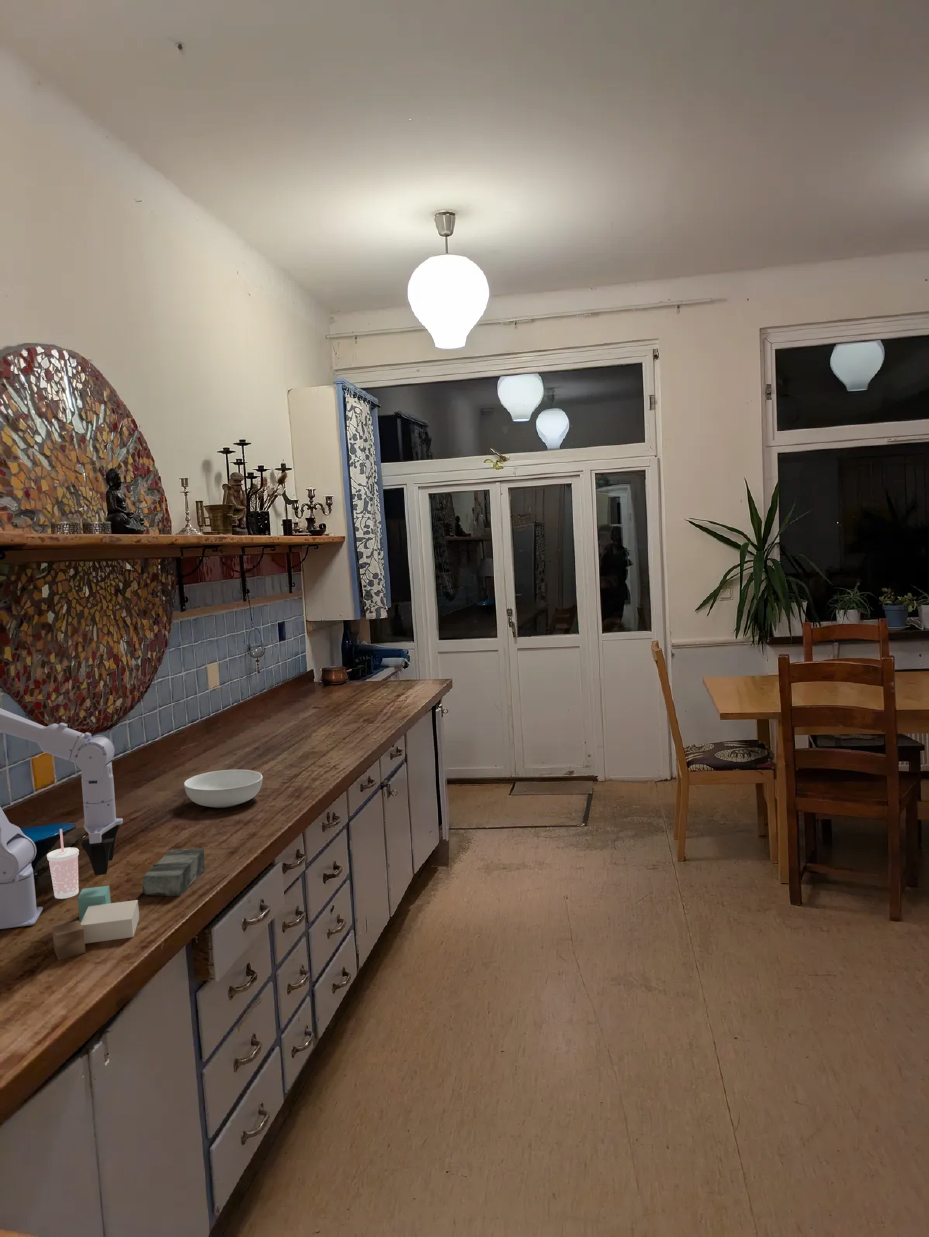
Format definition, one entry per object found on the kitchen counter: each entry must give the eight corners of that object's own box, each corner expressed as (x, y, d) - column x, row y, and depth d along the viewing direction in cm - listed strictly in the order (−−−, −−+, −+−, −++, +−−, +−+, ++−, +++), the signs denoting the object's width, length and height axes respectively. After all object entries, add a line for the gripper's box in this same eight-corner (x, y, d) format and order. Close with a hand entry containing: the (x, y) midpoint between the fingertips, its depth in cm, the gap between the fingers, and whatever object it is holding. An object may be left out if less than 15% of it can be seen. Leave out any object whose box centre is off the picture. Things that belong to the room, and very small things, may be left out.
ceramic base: (81, 943, 166) (79, 925, 166) (90, 923, 175) (88, 906, 174) (133, 937, 168) (131, 918, 168) (139, 917, 177) (137, 899, 176)
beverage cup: (46, 895, 190) (39, 829, 189) (75, 886, 194) (69, 822, 193) (57, 902, 186) (51, 836, 184) (87, 893, 190) (81, 828, 189)
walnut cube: (58, 960, 160) (56, 935, 160) (54, 950, 164) (52, 926, 163) (85, 952, 162) (83, 928, 162) (80, 943, 166) (78, 920, 166)
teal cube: (79, 923, 175) (77, 898, 175) (84, 913, 180) (82, 888, 180) (107, 920, 176) (105, 895, 176) (111, 909, 181) (109, 885, 181)
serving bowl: (244, 815, 238) (242, 790, 238) (171, 814, 243) (169, 789, 242) (276, 792, 259) (274, 769, 258) (208, 791, 263) (206, 768, 262)
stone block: (138, 898, 187) (136, 873, 186) (167, 871, 201) (165, 848, 201) (180, 897, 186) (178, 873, 186) (206, 871, 200) (204, 848, 200)
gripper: (115, 808, 171) (120, 878, 172) (125, 787, 185) (130, 852, 186) (75, 812, 169) (80, 882, 171) (88, 791, 183) (93, 856, 185)
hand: (104, 867), depth 178 cm, fingers open, 7 cm apart
